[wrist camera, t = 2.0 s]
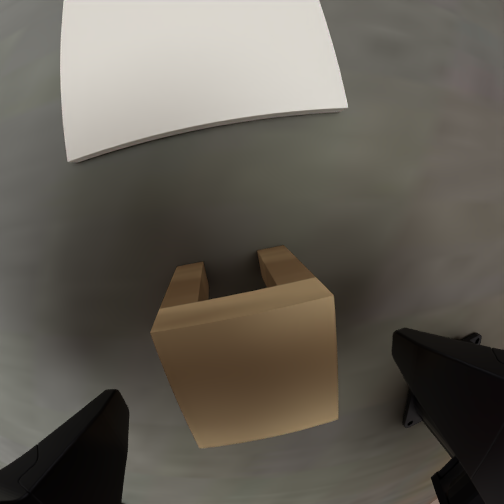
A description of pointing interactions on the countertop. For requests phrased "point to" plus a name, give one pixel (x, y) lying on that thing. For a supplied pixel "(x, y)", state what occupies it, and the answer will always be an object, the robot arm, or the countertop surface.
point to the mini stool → (250, 352)
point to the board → (189, 68)
